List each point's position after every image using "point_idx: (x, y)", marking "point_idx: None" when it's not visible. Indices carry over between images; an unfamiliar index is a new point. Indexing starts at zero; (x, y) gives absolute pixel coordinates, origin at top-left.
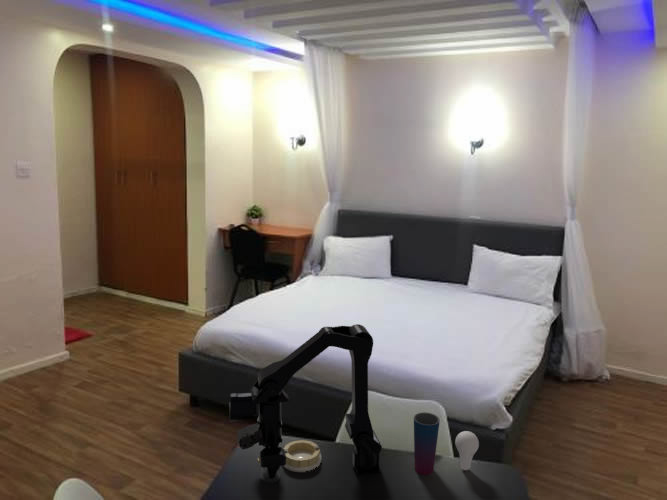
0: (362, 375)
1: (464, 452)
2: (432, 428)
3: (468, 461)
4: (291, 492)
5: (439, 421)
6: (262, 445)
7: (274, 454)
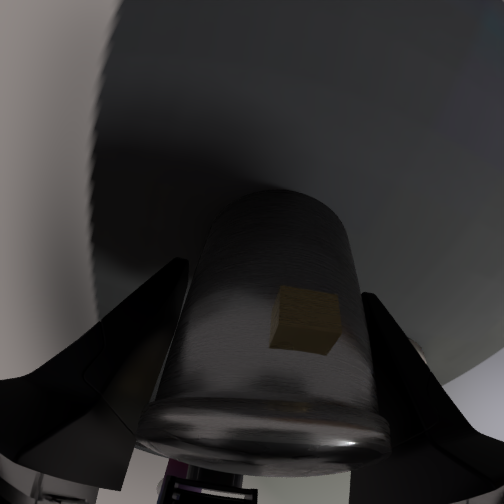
0: None
1: (162, 481)
2: None
3: None
4: (107, 294)
5: None
6: (442, 454)
7: None
